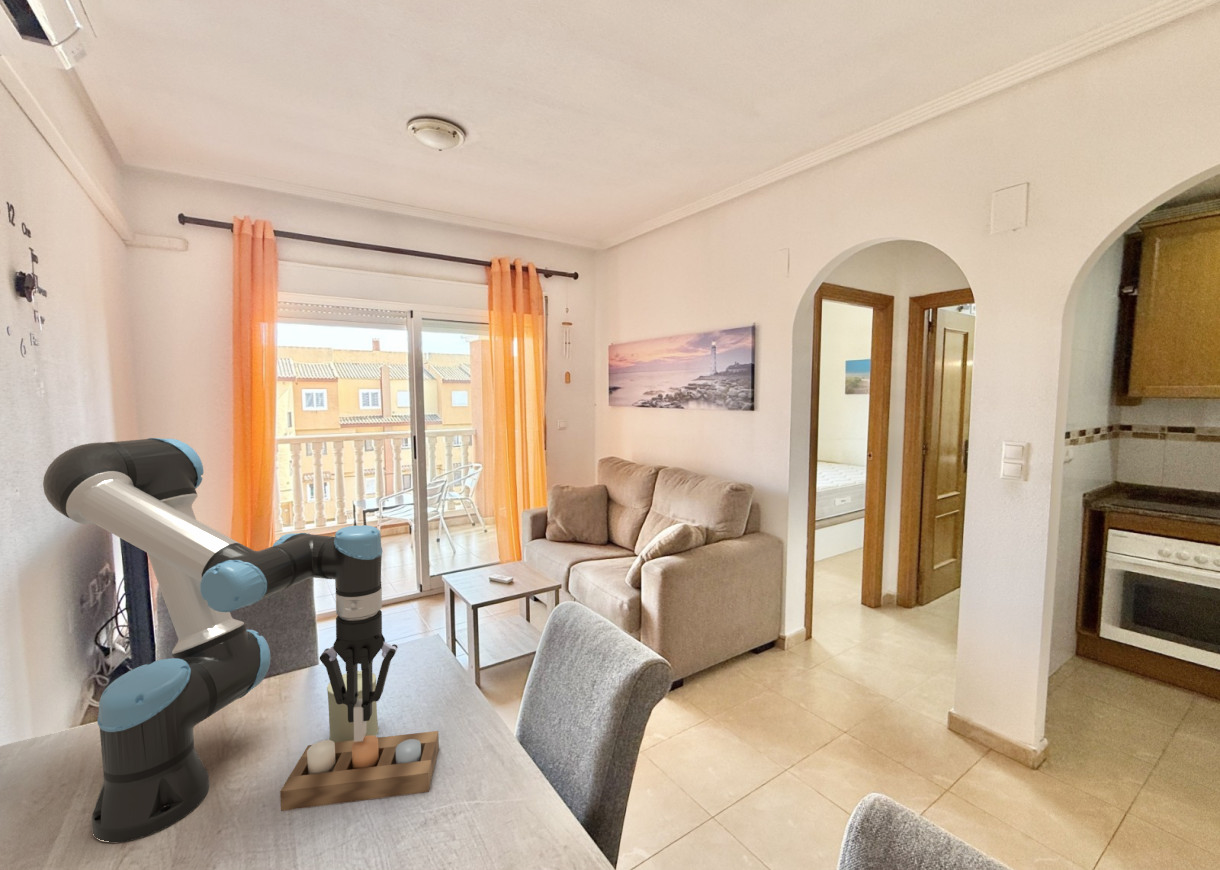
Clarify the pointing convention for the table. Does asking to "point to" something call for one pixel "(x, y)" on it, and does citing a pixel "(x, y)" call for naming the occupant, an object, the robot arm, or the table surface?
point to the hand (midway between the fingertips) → (360, 736)
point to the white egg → (321, 757)
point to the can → (339, 714)
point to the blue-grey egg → (408, 751)
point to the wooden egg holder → (362, 775)
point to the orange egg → (365, 753)
